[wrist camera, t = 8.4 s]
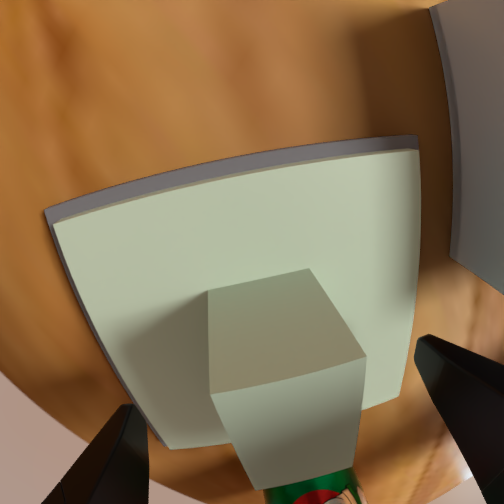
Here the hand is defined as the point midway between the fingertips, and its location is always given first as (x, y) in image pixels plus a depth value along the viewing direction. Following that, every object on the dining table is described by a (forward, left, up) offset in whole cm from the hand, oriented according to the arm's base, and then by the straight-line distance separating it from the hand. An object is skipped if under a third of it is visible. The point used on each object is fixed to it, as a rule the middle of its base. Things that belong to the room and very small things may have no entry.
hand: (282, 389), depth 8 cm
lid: (0, 0, -3) cm, 3 cm away
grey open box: (-13, -6, -3) cm, 15 cm away
